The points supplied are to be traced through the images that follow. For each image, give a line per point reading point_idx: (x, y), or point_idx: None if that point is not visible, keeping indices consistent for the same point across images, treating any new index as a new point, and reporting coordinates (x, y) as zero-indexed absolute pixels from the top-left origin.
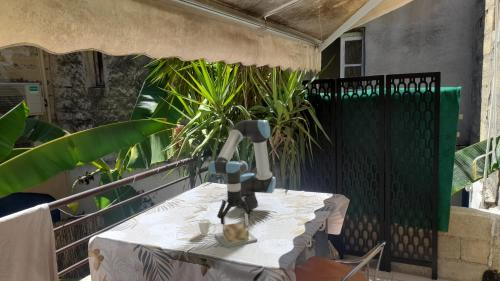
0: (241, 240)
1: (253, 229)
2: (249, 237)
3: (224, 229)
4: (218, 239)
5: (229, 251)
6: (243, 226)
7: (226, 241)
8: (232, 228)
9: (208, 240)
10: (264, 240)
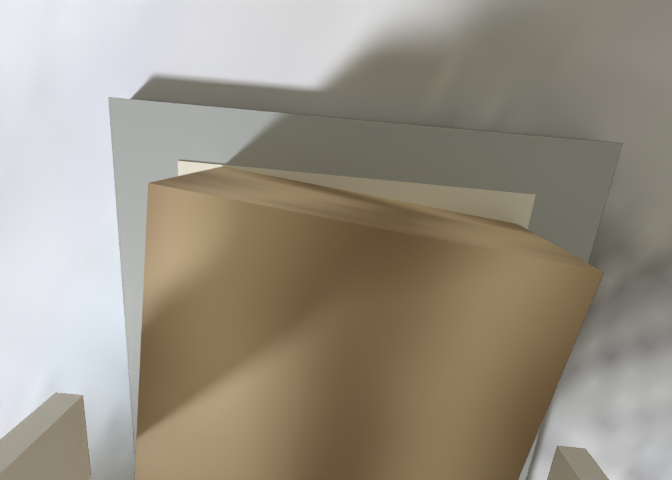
0: (335, 186)
1: None
2: None
3: (595, 464)
4: None
5: (637, 10)
6: (162, 411)
7: None
8: (389, 447)
9: (629, 460)
10: (29, 67)
